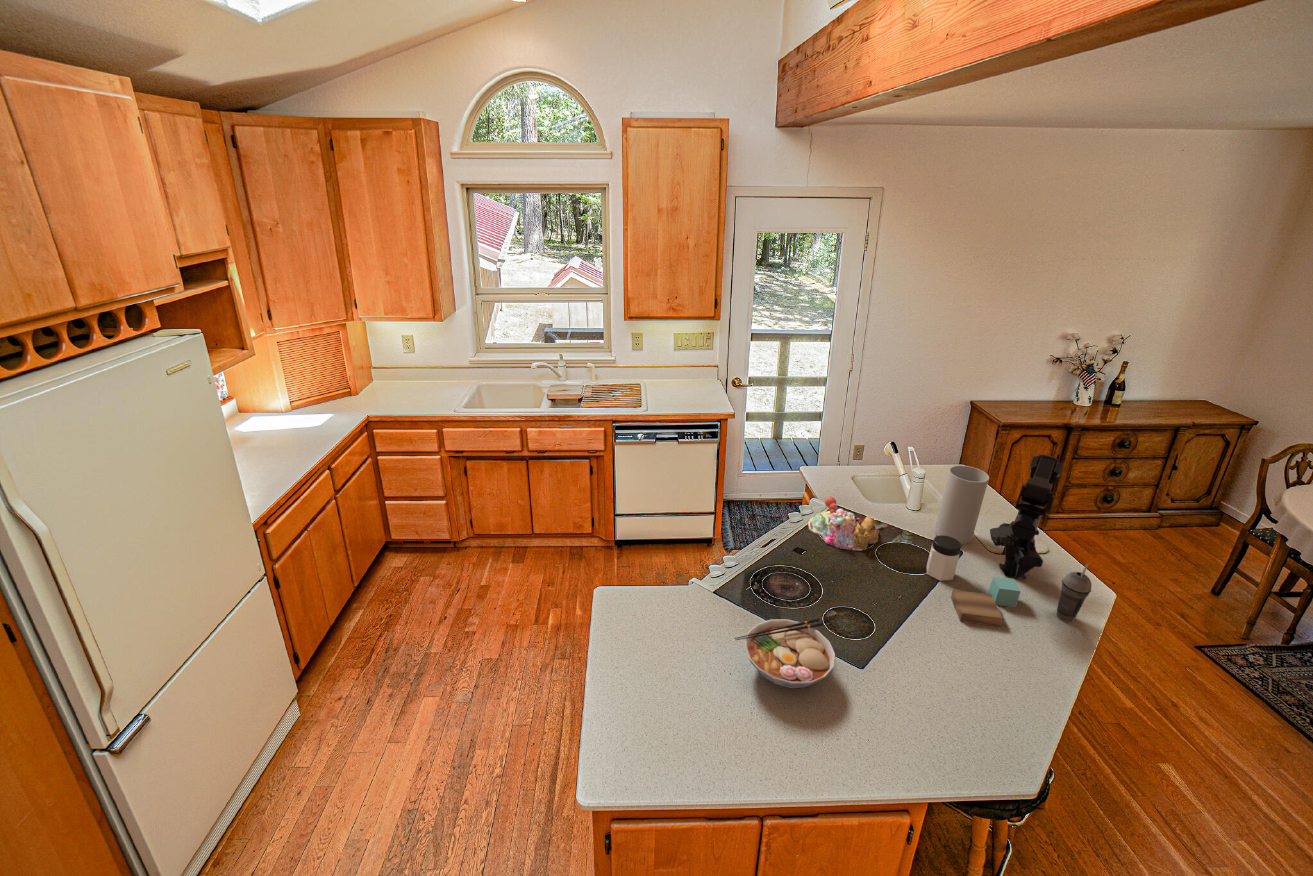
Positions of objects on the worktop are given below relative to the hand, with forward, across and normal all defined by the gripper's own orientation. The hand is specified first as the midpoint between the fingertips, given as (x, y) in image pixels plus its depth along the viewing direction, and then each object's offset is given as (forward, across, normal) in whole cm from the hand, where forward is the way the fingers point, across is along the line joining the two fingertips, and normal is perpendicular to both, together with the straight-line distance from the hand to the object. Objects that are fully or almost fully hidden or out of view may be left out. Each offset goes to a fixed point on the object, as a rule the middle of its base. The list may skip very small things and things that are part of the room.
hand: (1012, 568), depth 188 cm
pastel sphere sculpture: (+12, -29, -45) cm, 55 cm away
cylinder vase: (+12, -35, -6) cm, 37 cm away
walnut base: (+12, +8, -10) cm, 17 cm away
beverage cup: (+12, +5, +16) cm, 20 cm away
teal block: (+12, 0, 0) cm, 12 cm away
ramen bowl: (+11, +43, -66) cm, 80 cm away
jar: (+12, -10, -16) cm, 22 cm away
